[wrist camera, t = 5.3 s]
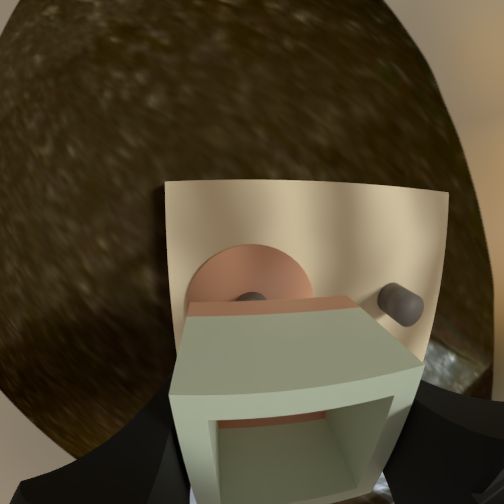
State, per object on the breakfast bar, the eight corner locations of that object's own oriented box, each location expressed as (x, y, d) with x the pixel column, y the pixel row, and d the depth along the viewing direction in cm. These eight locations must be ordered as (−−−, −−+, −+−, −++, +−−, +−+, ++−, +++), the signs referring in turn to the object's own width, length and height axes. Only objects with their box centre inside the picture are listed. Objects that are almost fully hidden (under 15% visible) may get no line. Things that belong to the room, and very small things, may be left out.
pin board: (185, 394, 18) (181, 428, 15) (168, 182, 16) (154, 180, 12) (413, 367, 20) (435, 389, 17) (439, 192, 17) (473, 194, 14)
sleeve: (203, 420, 11) (201, 516, 6) (190, 302, 10) (168, 394, 5) (329, 409, 12) (370, 492, 7) (346, 295, 10) (425, 365, 6)
